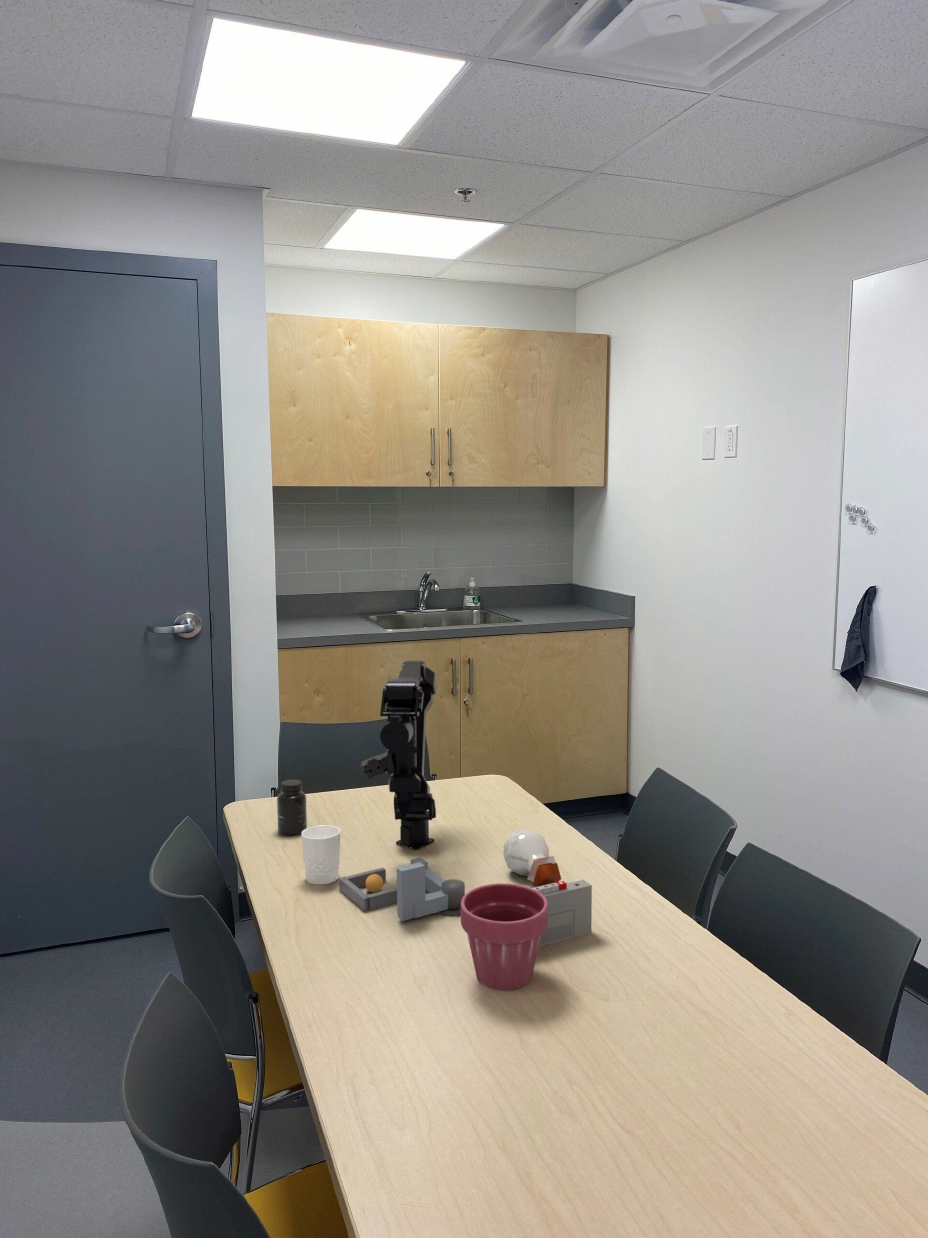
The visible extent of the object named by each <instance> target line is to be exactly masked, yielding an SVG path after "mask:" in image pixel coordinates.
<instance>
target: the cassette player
mask: <svg viewBox="0 0 928 1238" xmlns="http://www.w3.org/2000/svg"><path fill="white" fill-rule="evenodd" d="M592 887H593V885H592V884H591V883H589V882H588V881H586V880H584V879H580V880H577V881H572V882H568V883H567V882H566V881H564V880H562V881H561V880H560V881H559V882H557V883H552V884H548V885H543V886H539V887H537V886H535V887H531V888H532V889H534V890H537V891H538V892H540V893H541V894H543V895H544V896H545V898H546V899H547V902H548V926H547V928H546V930H545V931H544V932H543V933H542V934H541V940H540V944H539V947H543V946H546V945H547V946H548V945H550V944H554V943H558V942H562V941H565V940H569V939H574V938H577V937H578V938H579V937H581V936H584V935H588V934H589V935H590V934H592V916H593V915H592V914H593V913H592V911H593V909H592V907H593V906H592V904H593V903H592V902H593V901H592V900H593V896H592V895H593V890H592V889H593V888H592Z"/></svg>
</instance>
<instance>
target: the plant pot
mask: <svg viewBox="0 0 928 1238" xmlns="http://www.w3.org/2000/svg"><path fill="white" fill-rule="evenodd" d="M532 888H533V887H528V886H526V885H522V884H516V883H509V882H506V883H504V882H503V883H501V882H500V883H490V884H489V883H488V884H484V885H480V886H478V887H475V888H473V889H471V890H469V891H468V892H465V895H464V896H463V898H462V900H461V915H460V926H461V928H462V930H463V931H464V932H465V933H466V935H467V939H468V944H469V948H470V954H471V958H472V961H473V966H474V967H473V968H474V971H475V976H476V979H477V981H479V983H480V984H482V986H485V987H487V988H490V989H493V990H496V991H497V990H498V991H511V990H518V989H520V988H523V987H525V986H526V985H528V984H529V983H530V982H531V981H532V977H533V974H534V970H535V965H536V962H537V957H538V954H539V953H538V952H539V949H540V946H539V944H540V940H541V934H542V933H543V932H544V931H545V930H546V928H547V926H548V902H547V899H546V898H545V896H544V895H543V894H541V893H540V892H538V891H537V890H534V889H532Z"/></svg>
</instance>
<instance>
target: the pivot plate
mask: <svg viewBox="0 0 928 1238" xmlns="http://www.w3.org/2000/svg"><path fill="white" fill-rule="evenodd" d="M437 913H438V914H440V915H443V916H447V917H459V916H460V917H461V908H460V909H446V910H443V911H439V912H437Z"/></svg>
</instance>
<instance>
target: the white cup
mask: <svg viewBox="0 0 928 1238" xmlns="http://www.w3.org/2000/svg"><path fill="white" fill-rule="evenodd" d="M301 844H302V857H303V865H304V870H305V881H306V882H307V883H309V884H312V885H316V886H317V885H319V886H320V885H328V884H332V883H334V882H336V881H337V880H339V878H340V877H339V876H340V875H339V872H340V871H339V870H340V860H341V859H340V858H341V857H340V856H341V829H340V828H339V827H337V826H334V825H329V824H323V825H322V824H321V825H313V826H310V827H307V829H305V830H303V831H302V834H301Z"/></svg>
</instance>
